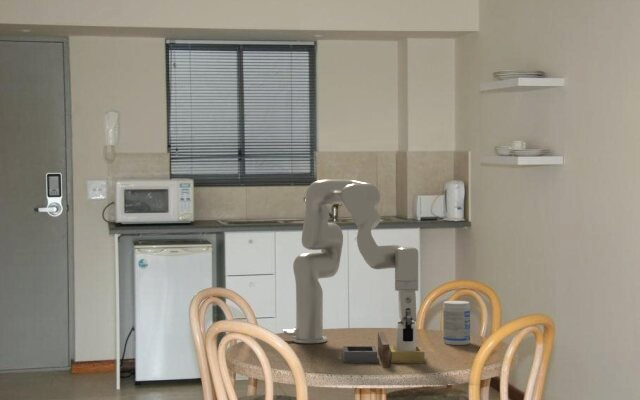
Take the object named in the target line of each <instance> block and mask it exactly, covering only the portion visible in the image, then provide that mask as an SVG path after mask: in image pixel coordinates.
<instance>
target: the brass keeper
mask: <svg viewBox="0 0 640 400" xmlns="http://www.w3.org/2000/svg"><path fill="white" fill-rule="evenodd" d="M389 361H390V362H391V364H393V363H394V364H397V363H398V364H411V363H412V364H414V363H415V364H420V363H421V364H423V363H425V350H424V349H423V347H422V346H421V345H416V351H396V345H389Z"/></svg>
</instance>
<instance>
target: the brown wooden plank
mask: <svg viewBox="0 0 640 400" xmlns="http://www.w3.org/2000/svg"><path fill="white" fill-rule="evenodd" d="M389 346H390V343H389V341H388V338H387V337H386V334H385V332H384V331H377V356H378V357H379V361H380V362H381V366H382V368H390V357H389Z"/></svg>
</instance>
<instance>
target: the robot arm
mask: <svg viewBox="0 0 640 400" xmlns="http://www.w3.org/2000/svg"><path fill="white" fill-rule="evenodd" d="M380 201H381V192H380V190H379V189H378V187H377V186H376V185H375V184H373V183H369V182H363V181H360V180H359V181H358V180H352V179H320V180H317V181H313V182H311V184H310V185H308V187H307V189H306V192H305V213H304V217H303V218H304V219H303V225H302V226H303V227H302V233H301V244H302V246H303V248H305V249H307V250H309V251H314V252H304V253H301V254H299V255H297V256H296V258H295V259H294V261H293V264H292V265H293V269H292V270H293V274H294V279H295V302H296V303H295V307H296V308H295V312H296V313H295V317H296V318H295V320H296V321H295V322H296V323H295V328H293V329H283V336H292V337H291V341H292V342H293V343H298V344H320V343H321V344H322V343H326V342H327V341H328V338H327V336H324V315H323V314H324V310H323V309H324V308H323V307H324V305H323V304H324V297H323V296H324V294H323V293H324V291H323V288H322V286H321V283H320V281H319V279H320V280H321V279H327V278H328V279H329V278H332V277H334V276H335V275H336V274H337V273H338V272H339V271H338V270H339V268H340V263H341V258H342V257H341V256H342V251H343V245H344V244H343V243H344V234H343V230H342V228H341V227H340V225H339V224H337V223H335V222H329V217H330V212H329V208H328V205H341V204H342V205H344V207H345V208H346V210H347V211H348V213H349V215H350V217H351V218H352V220H353V222H354V224H355V225H356V227H357V234H356V235H357V236H356V242H357V249H358V251H359V253H360V254H361V257H362V258H363V259H364V261H365V263H366V264H367V265H368V266H369V267H370V268H372V269H374V270H385V269H394V290H395V291H396V292H398V315H399V316H398V317H399V319H400V322H403V323H404V329H403V341H413V324H412V322H415V323H416V322H417V296H416V292H418V291H419V249H417V248H416V247H412V246H402V245H398V244H396V245H395V244H392V245H390V244H389V245H387V244H386V245H378V244H377V243H376V241H375V239H374V237H373V234H372V230H374V229H375V228H376V227H377V226H379V224H380V222H381V219H382V218H381V215H380V213H379V211H378V210H377V209H376V207H377V206H378V205H379V203H380ZM317 250H318V251H317ZM319 250H321V251H319ZM316 251H317V252H316Z"/></svg>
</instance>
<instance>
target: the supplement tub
mask: <svg viewBox="0 0 640 400" xmlns="http://www.w3.org/2000/svg"><path fill="white" fill-rule="evenodd" d="M442 304H443V305H442V342H443V343H444V344H446V345H450V346H466V345H469V344H470V343H471V306H470V305H471V304H470V301H468V300H467V301H466V300H446V301H443V303H442Z"/></svg>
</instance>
